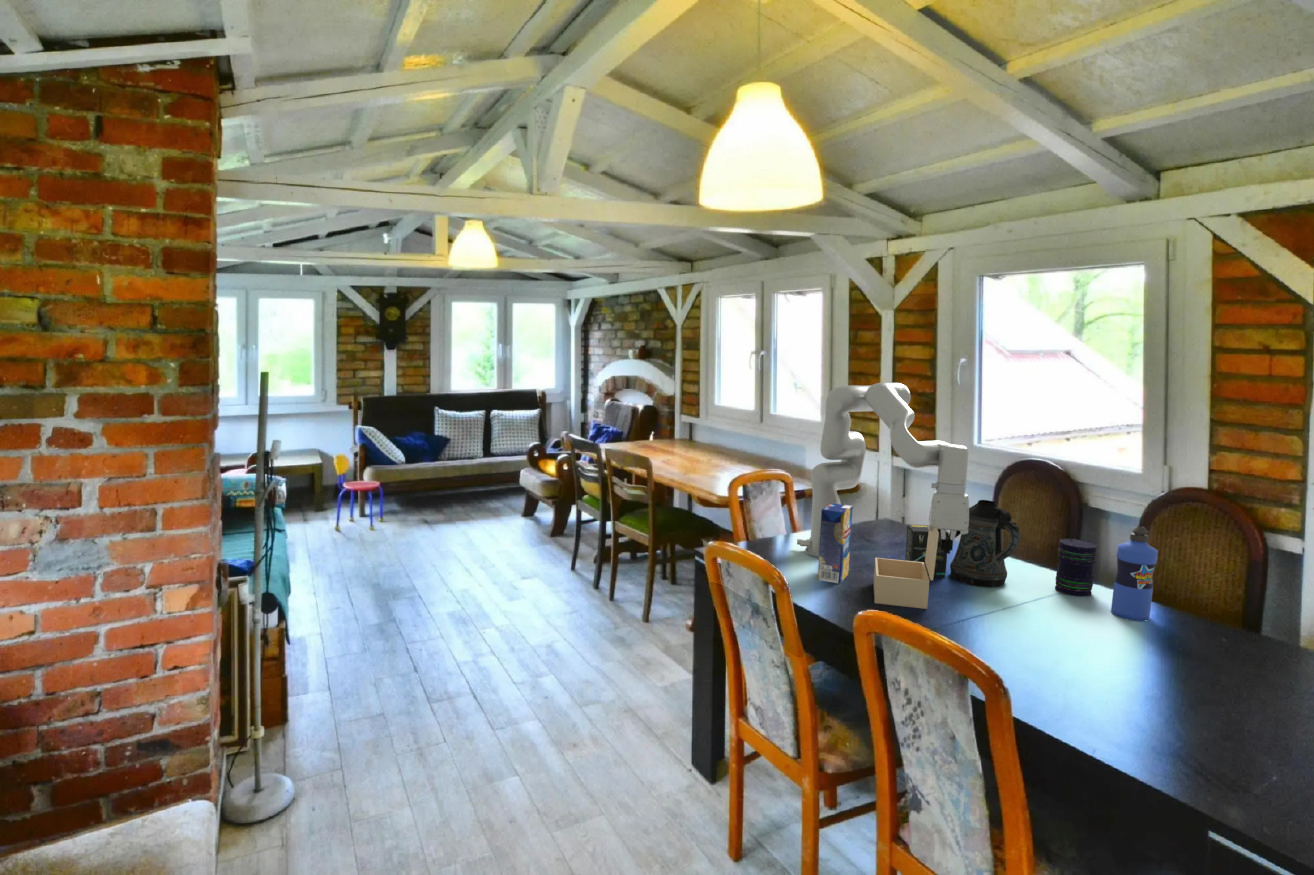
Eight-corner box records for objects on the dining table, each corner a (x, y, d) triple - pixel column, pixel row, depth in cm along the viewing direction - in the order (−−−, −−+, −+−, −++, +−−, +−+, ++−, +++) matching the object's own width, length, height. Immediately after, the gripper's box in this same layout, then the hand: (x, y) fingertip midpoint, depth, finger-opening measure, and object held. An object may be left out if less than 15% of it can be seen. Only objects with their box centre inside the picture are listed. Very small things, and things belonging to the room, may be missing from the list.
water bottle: (1158, 621, 202) (1169, 531, 199) (1125, 621, 202) (1136, 531, 198) (1133, 608, 212) (1144, 522, 208) (1102, 608, 211) (1112, 522, 207)
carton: (874, 603, 210) (876, 575, 209) (873, 583, 228) (875, 557, 227) (927, 609, 207) (929, 581, 206) (922, 588, 224) (924, 562, 223)
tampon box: (938, 568, 244) (941, 525, 242) (946, 578, 235) (950, 532, 233) (903, 566, 245) (906, 523, 243) (910, 575, 236) (913, 530, 234)
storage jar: (1099, 596, 221) (1105, 547, 219) (1069, 597, 220) (1075, 548, 218) (1075, 585, 231) (1080, 538, 229) (1047, 586, 229) (1052, 538, 227)
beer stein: (953, 567, 246) (960, 493, 242) (1019, 578, 236) (1026, 501, 233) (945, 581, 231) (951, 502, 228) (1014, 593, 222) (1022, 511, 218)
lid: (936, 532, 204) (939, 533, 204) (930, 517, 221) (933, 518, 221) (930, 580, 206) (933, 580, 206) (924, 561, 223) (927, 562, 223)
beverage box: (848, 574, 236) (852, 505, 233) (839, 583, 226) (844, 512, 223) (826, 570, 239) (831, 502, 236) (817, 579, 229) (821, 509, 226)
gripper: (924, 489, 208) (919, 553, 211) (981, 493, 205) (976, 558, 207) (921, 484, 215) (917, 546, 218) (977, 488, 212) (972, 551, 214)
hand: (946, 552), depth 212 cm, fingers closed
